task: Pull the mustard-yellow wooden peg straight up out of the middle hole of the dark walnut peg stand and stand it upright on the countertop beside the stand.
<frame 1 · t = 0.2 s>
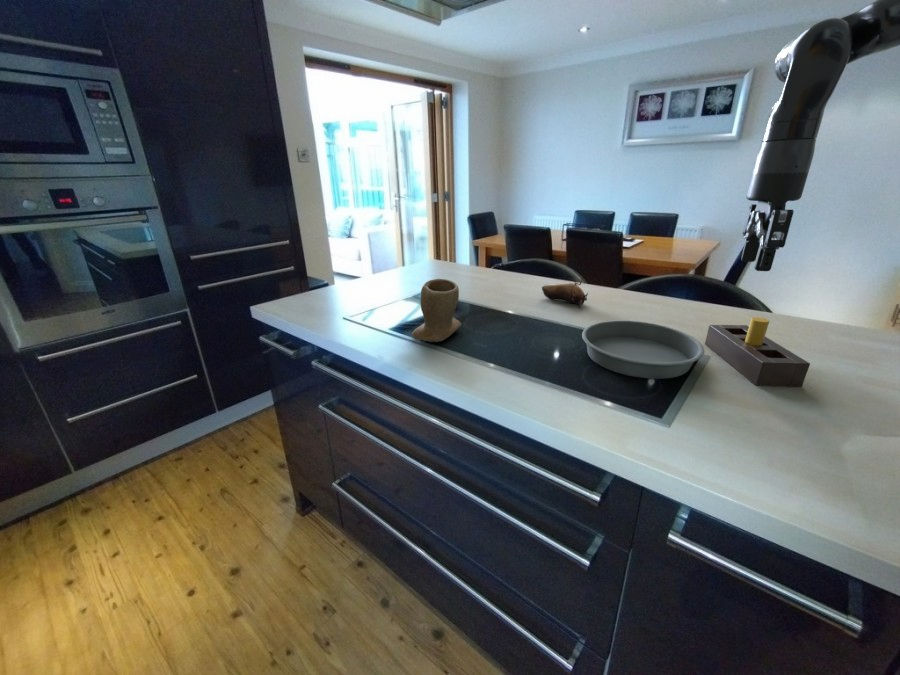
hand: (754, 265, 72), 22 cm above the table, tool pointing down, fingers open, 8 cm apart
stand: (747, 363, 84), on the table
stone cup: (440, 335, 104), on the table
vegetable: (561, 303, 127), on the table
peg: (753, 341, 82), in the stand
cake pan: (636, 357, 88), on the table
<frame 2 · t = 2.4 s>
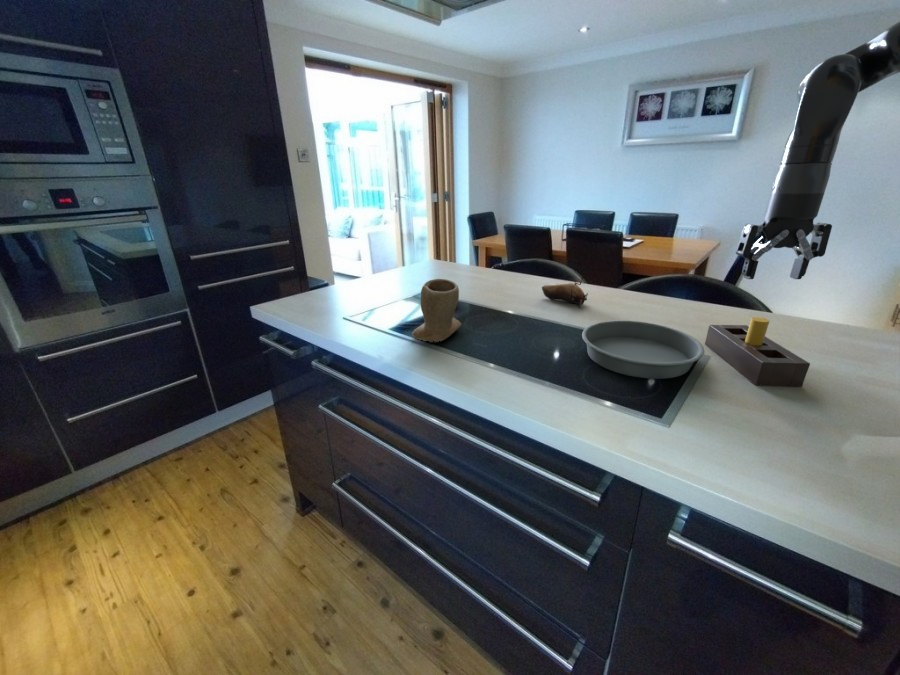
hand: (771, 278, 76), 19 cm above the table, tool pointing down, fingers open, 8 cm apart
nothing on the table moved.
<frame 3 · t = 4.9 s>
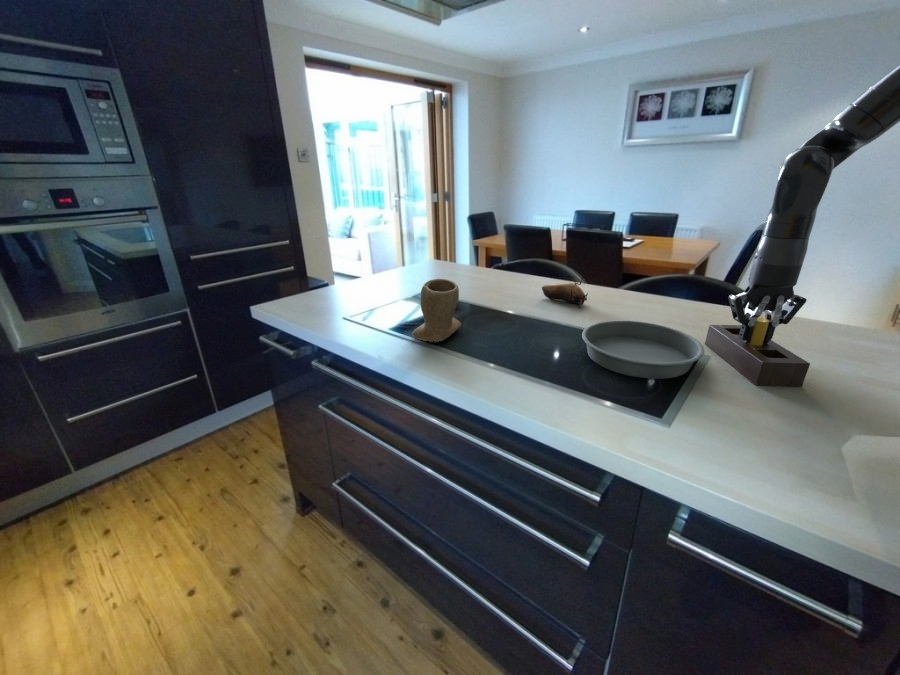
hand: (754, 341, 82), 5 cm above the table, tool pointing down, fingers closed on peg, 3 cm apart
peg: (753, 341, 82), in the stand, touching gripper
everything else where it was.
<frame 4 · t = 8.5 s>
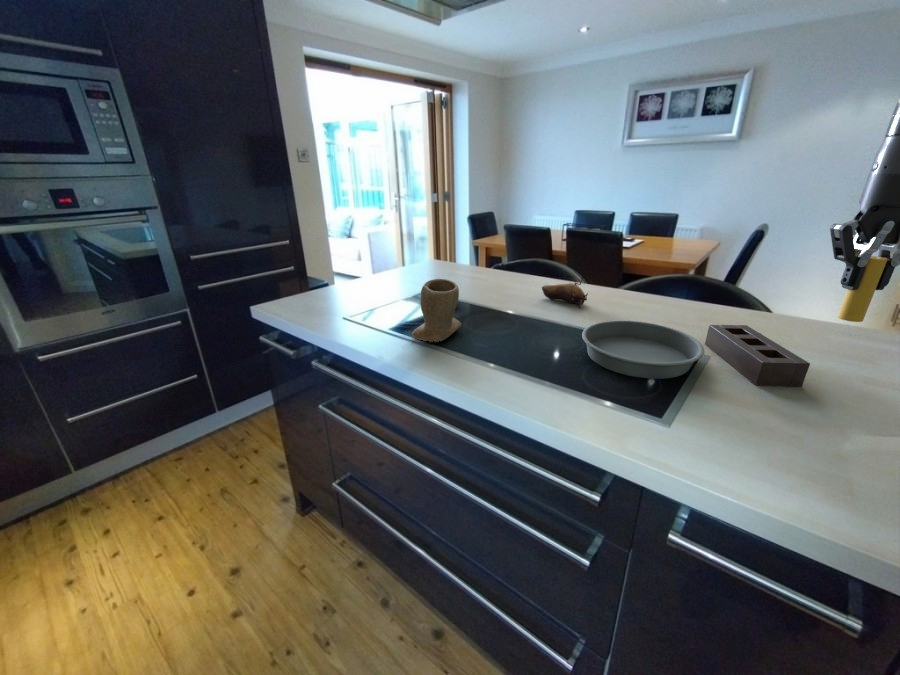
hand: (861, 288, 61), 21 cm above the table, tool pointing down, fingers closed on peg, 3 cm apart
peg: (861, 289, 62), point 21 cm above the table, touching gripper
everything else where it was.
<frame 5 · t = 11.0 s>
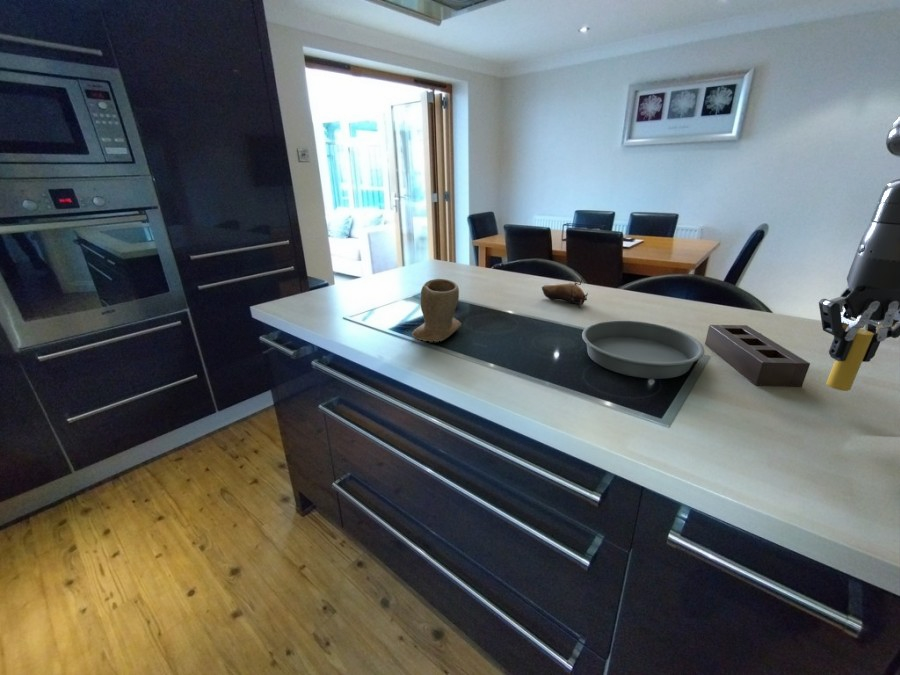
hand: (849, 359, 64), 10 cm above the table, tool pointing down, fingers closed on peg, 3 cm apart
peg: (848, 359, 64), point 9 cm above the table, touching gripper
everything else where it was.
when the fingers open (5 cm above the table, at t = 12.4 s): peg stays where it is, on the table.
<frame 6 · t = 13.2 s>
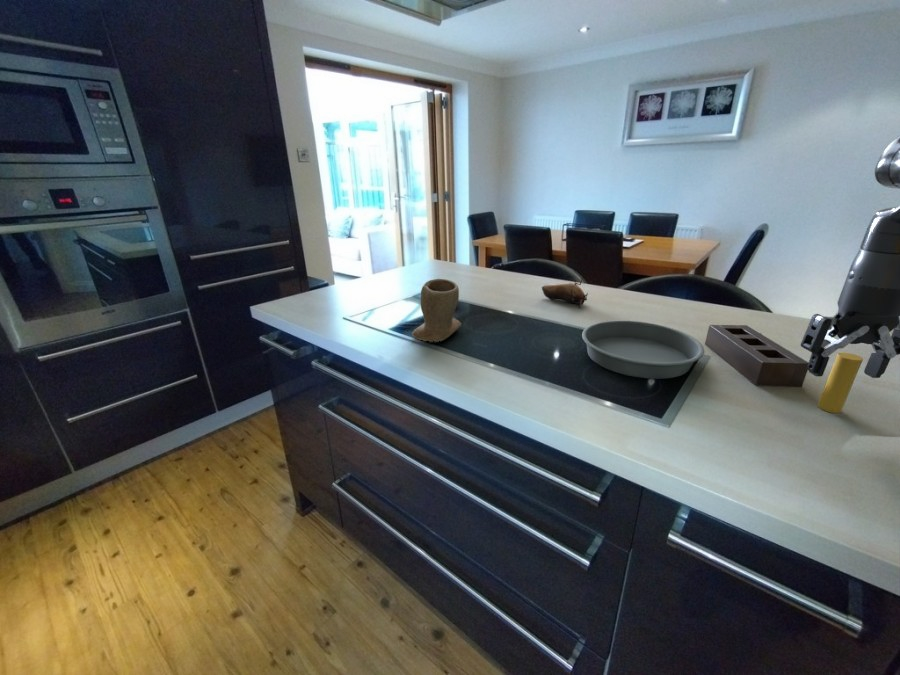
hand: (842, 375, 65), 6 cm above the table, tool pointing down, fingers open, 8 cm apart
peg: (839, 383, 66), on the table
everything else where it was.
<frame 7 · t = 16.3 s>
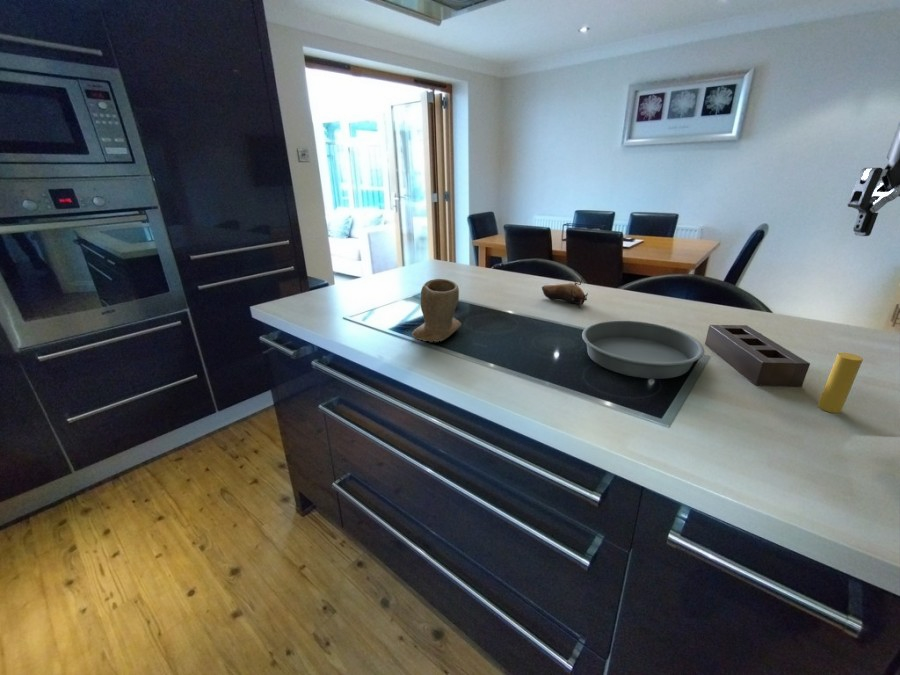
hand: (890, 235, 64), 28 cm above the table, tool pointing down, fingers open, 8 cm apart
nothing on the table moved.
at the end: peg 0.1 cm from the target spot, on the table; peg tilted 0°; peg touching table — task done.
